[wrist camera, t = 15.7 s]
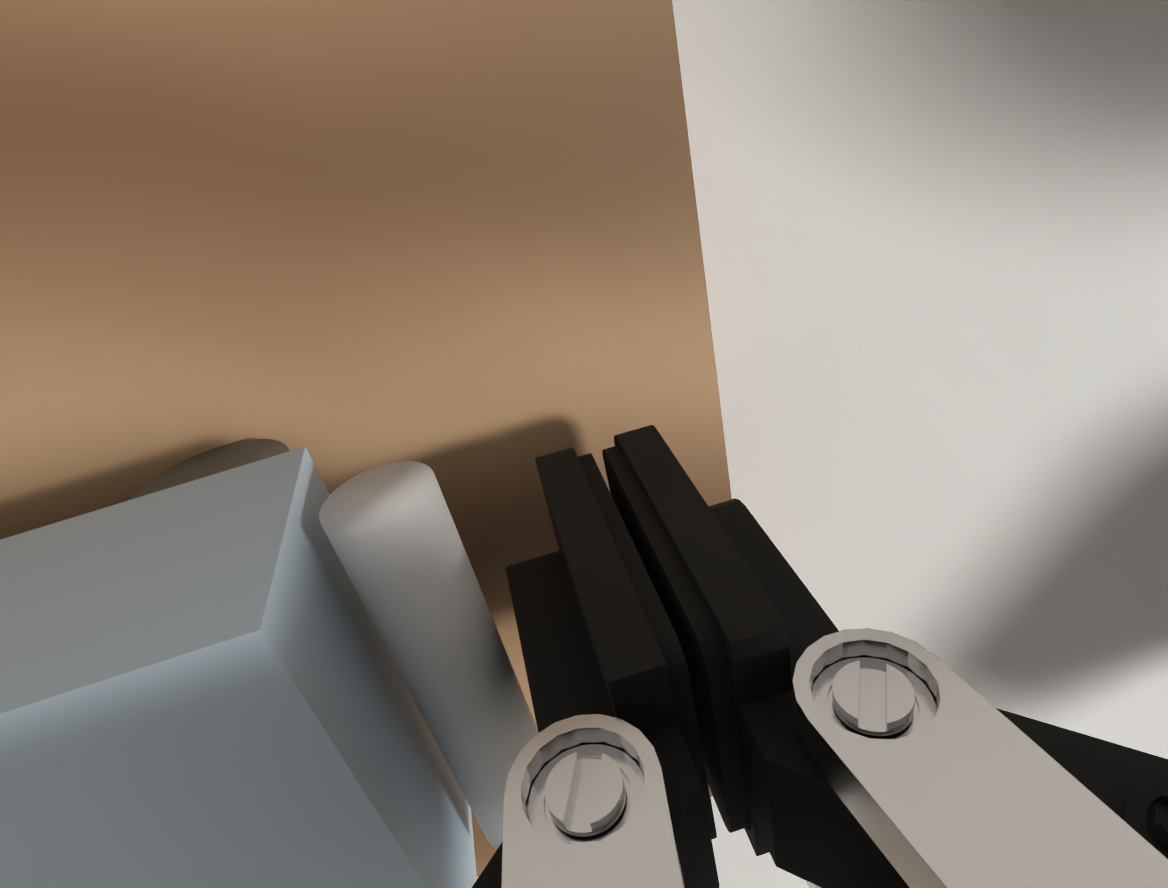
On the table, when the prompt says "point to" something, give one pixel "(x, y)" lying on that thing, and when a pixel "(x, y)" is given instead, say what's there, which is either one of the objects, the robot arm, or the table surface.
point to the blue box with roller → (252, 685)
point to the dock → (349, 251)
